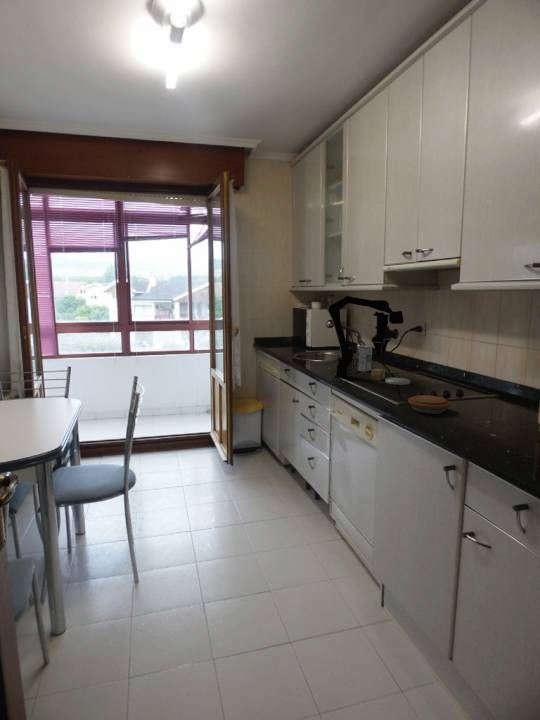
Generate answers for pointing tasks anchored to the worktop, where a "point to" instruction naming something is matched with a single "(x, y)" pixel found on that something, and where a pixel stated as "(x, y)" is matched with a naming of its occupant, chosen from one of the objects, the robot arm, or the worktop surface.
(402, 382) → the saucer
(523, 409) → the worktop surface
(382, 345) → the robot arm
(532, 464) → the worktop surface
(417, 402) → the pie
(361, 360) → the syrup box
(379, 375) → the beech block
